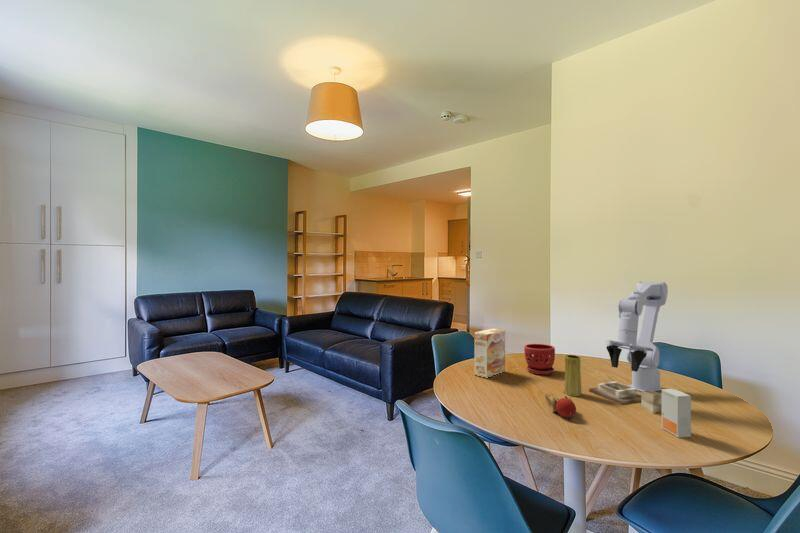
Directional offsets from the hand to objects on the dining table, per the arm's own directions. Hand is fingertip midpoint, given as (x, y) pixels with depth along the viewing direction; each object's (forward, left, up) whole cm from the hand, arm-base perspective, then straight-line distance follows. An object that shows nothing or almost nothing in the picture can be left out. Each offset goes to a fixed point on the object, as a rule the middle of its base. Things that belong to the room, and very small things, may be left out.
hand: (624, 369), depth 129 cm
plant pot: (+5, -39, -12) cm, 41 cm away
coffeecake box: (+28, -44, -12) cm, 53 cm away
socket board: (-2, -5, -11) cm, 13 cm away
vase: (+12, -12, -12) cm, 21 cm away
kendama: (+28, -2, -12) cm, 30 cm away
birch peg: (-1, +9, -12) cm, 15 cm away
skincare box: (+8, +23, -12) cm, 27 cm away
